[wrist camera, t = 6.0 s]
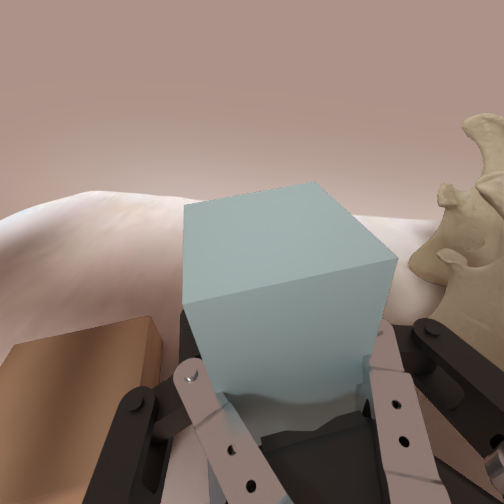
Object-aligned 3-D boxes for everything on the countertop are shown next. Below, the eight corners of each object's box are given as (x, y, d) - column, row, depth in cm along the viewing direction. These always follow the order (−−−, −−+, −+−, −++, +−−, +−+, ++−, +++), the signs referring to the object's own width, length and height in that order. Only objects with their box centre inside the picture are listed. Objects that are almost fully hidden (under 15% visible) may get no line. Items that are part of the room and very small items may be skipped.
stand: (-46, 545, 13) (-103, 534, 11) (39, 369, 20) (14, 345, 18) (150, 490, 13) (127, 471, 12) (162, 341, 21) (150, 315, 19)
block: (243, 470, 13) (182, 304, 6) (229, 369, 18) (184, 204, 11) (347, 440, 14) (398, 257, 7) (308, 349, 18) (315, 181, 11)
